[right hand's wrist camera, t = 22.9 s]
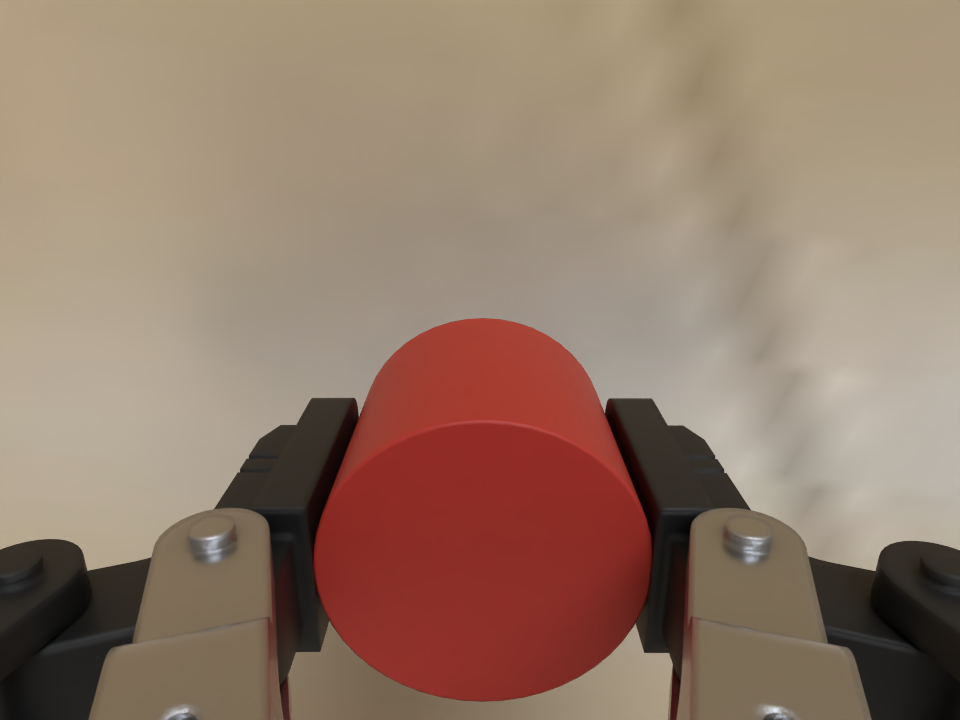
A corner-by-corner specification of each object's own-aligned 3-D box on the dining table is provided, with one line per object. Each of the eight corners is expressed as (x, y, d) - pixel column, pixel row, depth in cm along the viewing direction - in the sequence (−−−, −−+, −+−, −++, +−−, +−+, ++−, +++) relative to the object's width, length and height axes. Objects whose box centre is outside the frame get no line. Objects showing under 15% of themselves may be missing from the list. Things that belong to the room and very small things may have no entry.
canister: (331, 485, 13) (269, 645, 9) (413, 278, 11) (381, 366, 8) (540, 560, 13) (564, 739, 10) (643, 372, 12) (718, 496, 8)
